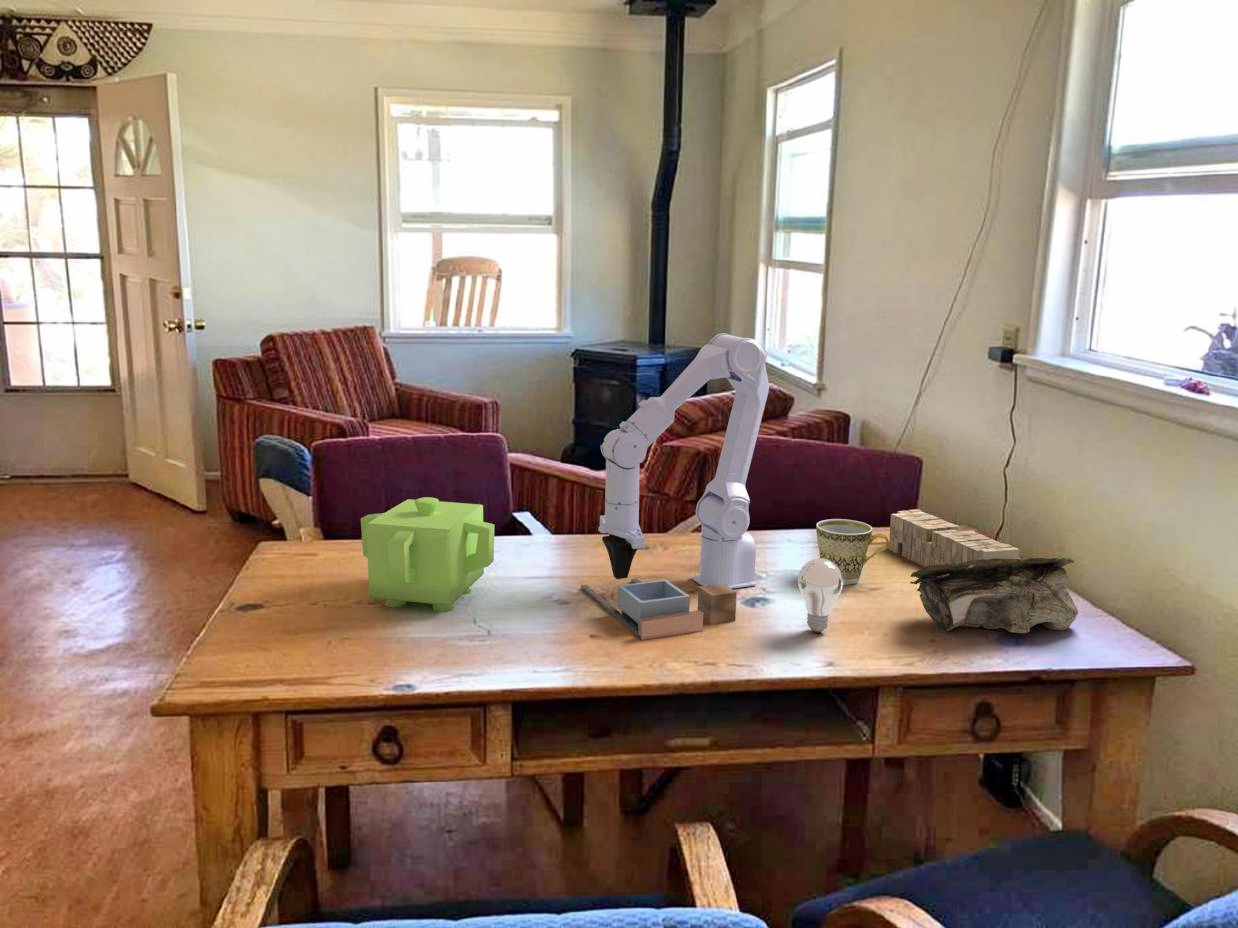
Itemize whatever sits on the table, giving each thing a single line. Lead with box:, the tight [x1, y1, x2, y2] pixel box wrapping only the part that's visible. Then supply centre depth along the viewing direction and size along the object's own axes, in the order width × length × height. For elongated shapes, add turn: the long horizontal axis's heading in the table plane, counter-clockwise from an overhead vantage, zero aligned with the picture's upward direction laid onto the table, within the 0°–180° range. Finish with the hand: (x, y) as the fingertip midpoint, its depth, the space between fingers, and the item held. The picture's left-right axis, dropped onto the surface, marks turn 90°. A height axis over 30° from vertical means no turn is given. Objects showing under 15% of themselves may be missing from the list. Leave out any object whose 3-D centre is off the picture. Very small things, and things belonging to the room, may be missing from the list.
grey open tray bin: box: [617, 579, 691, 627], centre depth 162 cm, size 9×9×5 cm
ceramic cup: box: [815, 518, 889, 586], centre depth 182 cm, size 13×10×10 cm
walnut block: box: [697, 583, 738, 626], centre depth 163 cm, size 4×4×5 cm
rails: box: [580, 577, 704, 641], centre depth 167 cm, size 11×25×3 cm, turn 24°
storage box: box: [360, 496, 495, 613], centre depth 169 cm, size 25×23×17 cm
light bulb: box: [797, 557, 844, 634], centre depth 157 cm, size 7×7×12 cm
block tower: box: [888, 509, 1020, 577], centre depth 191 cm, size 8×8×29 cm
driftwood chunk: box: [909, 556, 1079, 634], centre depth 160 cm, size 28×13×15 cm
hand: (620, 577), depth 173 cm, fingers closed
